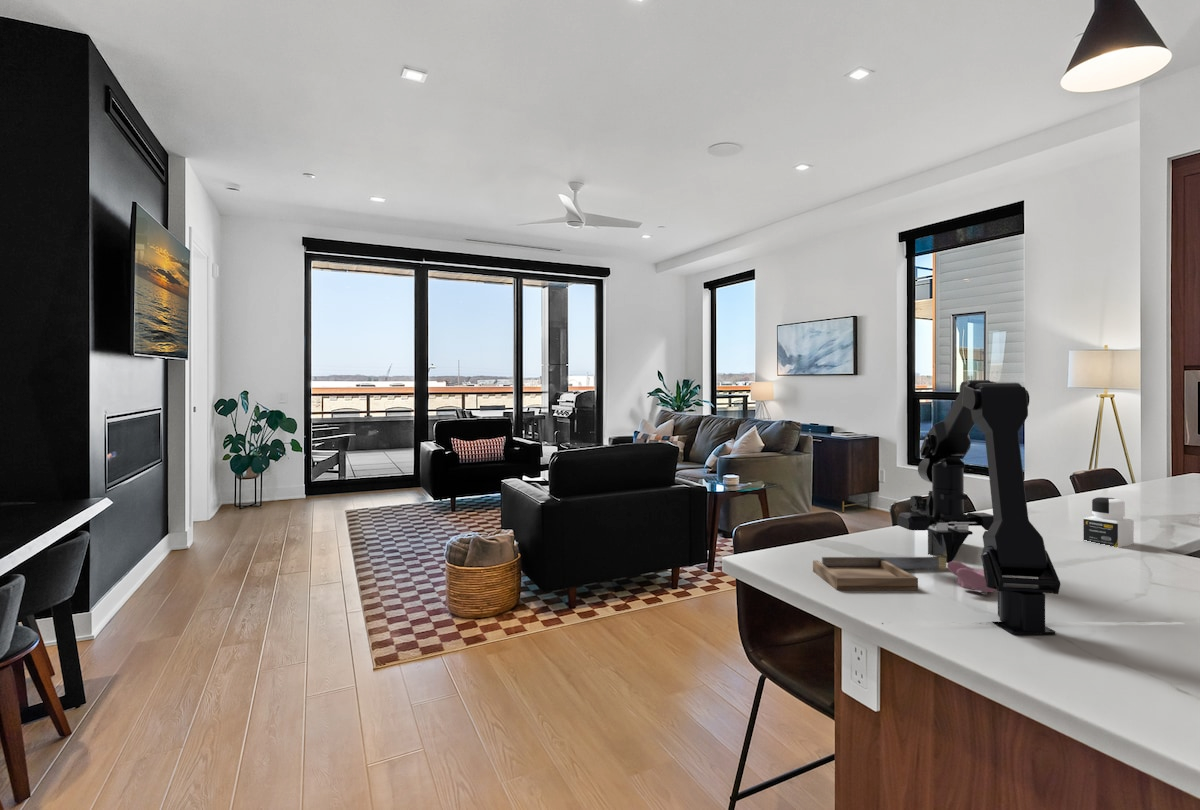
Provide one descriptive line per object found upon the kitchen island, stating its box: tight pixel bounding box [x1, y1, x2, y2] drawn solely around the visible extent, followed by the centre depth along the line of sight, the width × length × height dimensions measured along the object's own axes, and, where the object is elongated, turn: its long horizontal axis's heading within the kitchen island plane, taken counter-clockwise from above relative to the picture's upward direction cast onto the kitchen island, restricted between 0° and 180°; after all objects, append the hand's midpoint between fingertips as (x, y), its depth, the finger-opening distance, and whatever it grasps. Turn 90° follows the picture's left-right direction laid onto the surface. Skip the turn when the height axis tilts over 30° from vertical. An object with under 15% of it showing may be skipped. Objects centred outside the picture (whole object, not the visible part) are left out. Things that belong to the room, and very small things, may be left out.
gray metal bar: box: [821, 555, 947, 570], centre depth 128 cm, size 2×26×2 cm, turn 90°
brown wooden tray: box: [812, 560, 919, 591], centre depth 120 cm, size 13×15×2 cm
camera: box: [927, 516, 943, 556], centre depth 143 cm, size 16×4×10 cm, turn 143°
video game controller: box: [946, 560, 996, 596], centre depth 114 cm, size 10×5×7 cm
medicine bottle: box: [1083, 496, 1135, 548], centre depth 147 cm, size 7×7×12 cm
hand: (948, 562), depth 128 cm, fingers closed
